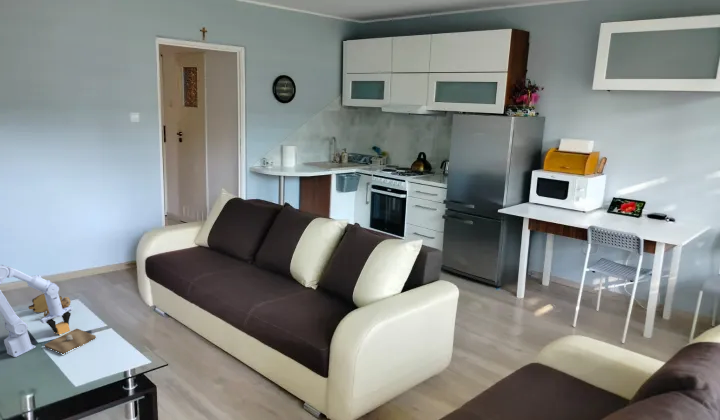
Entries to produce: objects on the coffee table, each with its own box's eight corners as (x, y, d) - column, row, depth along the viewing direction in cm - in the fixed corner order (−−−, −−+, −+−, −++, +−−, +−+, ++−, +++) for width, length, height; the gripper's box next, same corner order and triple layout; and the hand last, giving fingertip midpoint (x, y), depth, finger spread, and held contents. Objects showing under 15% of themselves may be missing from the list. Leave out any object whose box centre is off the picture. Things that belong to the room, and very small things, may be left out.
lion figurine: (72, 309, 281) (68, 294, 278) (74, 312, 277) (70, 297, 274) (41, 319, 272) (37, 304, 269) (43, 323, 268) (39, 307, 265)
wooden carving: (61, 302, 290) (57, 286, 287) (64, 304, 287) (60, 288, 284) (29, 315, 278) (24, 298, 275) (32, 317, 275) (27, 300, 272)
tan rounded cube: (59, 335, 254) (57, 328, 253) (54, 333, 256) (52, 326, 255) (70, 330, 258) (68, 323, 257) (64, 328, 261) (62, 321, 259)
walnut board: (63, 355, 236) (61, 347, 234) (45, 347, 244) (42, 339, 243) (96, 338, 248) (94, 330, 247) (77, 331, 257) (75, 323, 255)
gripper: (43, 313, 245) (51, 338, 249) (73, 300, 256) (79, 324, 260) (36, 310, 248) (43, 335, 253) (65, 297, 260) (72, 321, 264)
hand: (61, 329), depth 257 cm, fingers closed on tan rounded cube, 5 cm apart
